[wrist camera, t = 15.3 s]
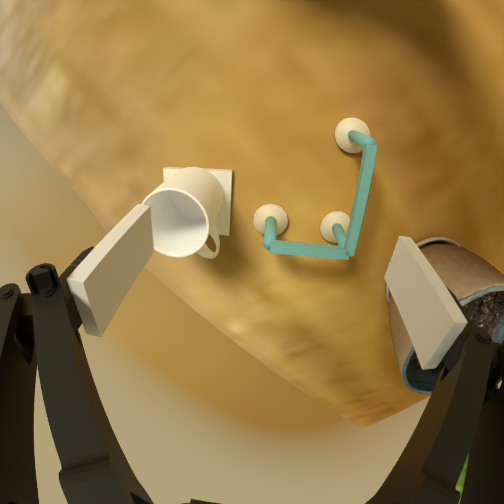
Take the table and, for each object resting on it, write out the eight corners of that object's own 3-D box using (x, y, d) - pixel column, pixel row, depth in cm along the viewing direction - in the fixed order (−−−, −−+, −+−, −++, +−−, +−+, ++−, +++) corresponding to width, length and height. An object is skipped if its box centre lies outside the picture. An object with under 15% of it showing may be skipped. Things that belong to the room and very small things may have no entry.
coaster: (165, 167, 40) (163, 168, 39) (232, 170, 40) (231, 171, 39) (168, 228, 45) (166, 230, 44) (229, 233, 45) (229, 235, 44)
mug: (200, 247, 45) (183, 288, 36) (156, 185, 41) (124, 212, 31) (247, 222, 43) (240, 261, 34) (203, 154, 38) (180, 173, 29)
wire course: (262, 105, 35) (259, 106, 27) (370, 121, 35) (395, 128, 27) (252, 232, 44) (248, 263, 37) (347, 241, 44) (362, 273, 36)
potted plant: (386, 213, 41) (531, 466, 7) (482, 226, 40) (612, 389, 6) (357, 316, 52) (402, 528, 17) (445, 315, 51) (515, 477, 16)
